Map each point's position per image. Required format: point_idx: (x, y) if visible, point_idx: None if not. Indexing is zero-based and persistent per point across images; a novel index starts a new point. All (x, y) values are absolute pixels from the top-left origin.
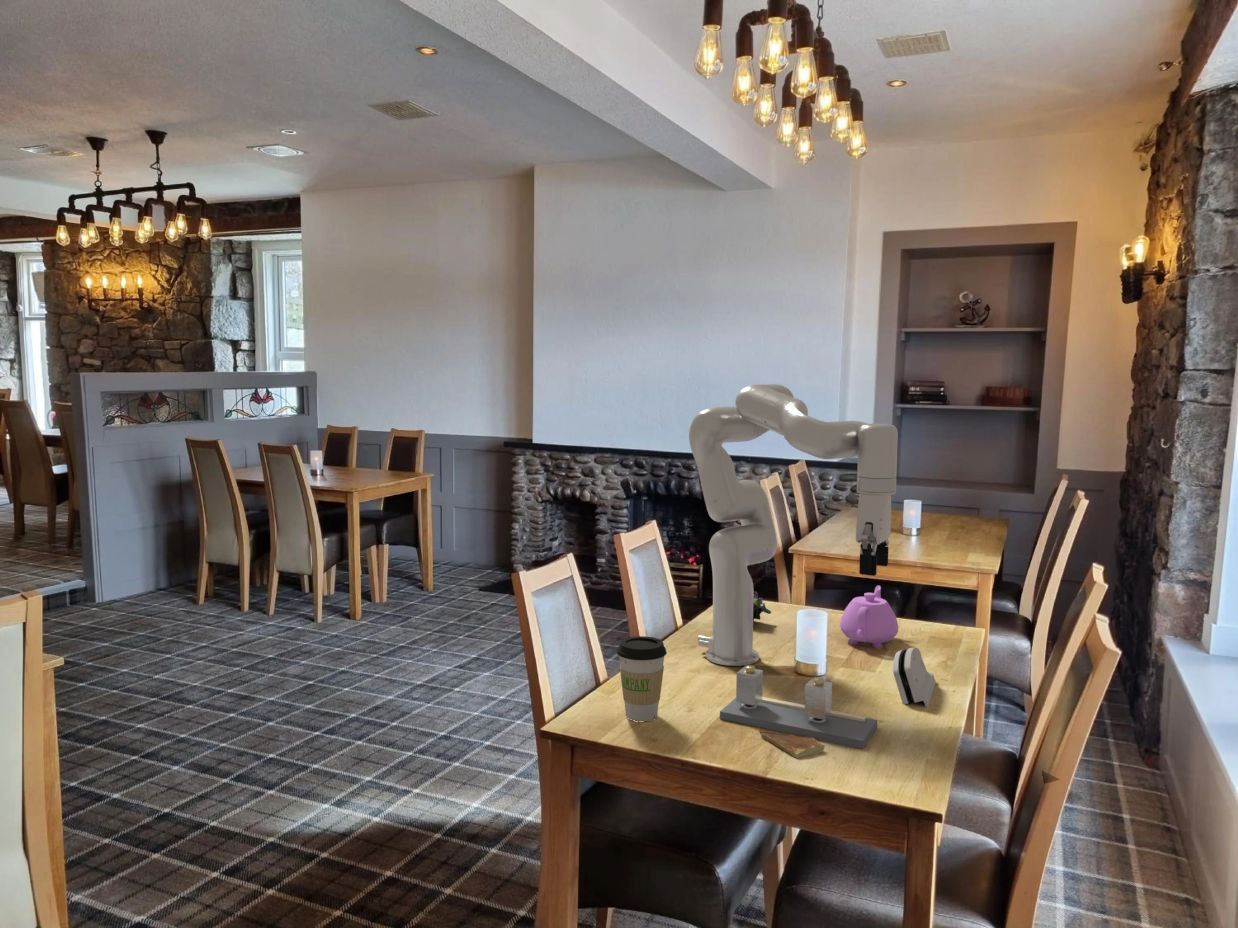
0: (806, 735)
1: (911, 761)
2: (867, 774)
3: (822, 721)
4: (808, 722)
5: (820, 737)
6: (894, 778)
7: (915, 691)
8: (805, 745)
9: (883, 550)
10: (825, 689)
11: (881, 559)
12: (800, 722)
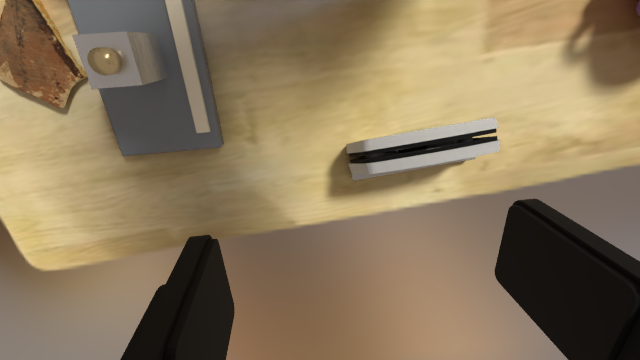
0: None
1: (143, 216)
2: (53, 185)
3: None
4: None
5: None
6: (74, 215)
7: (354, 170)
8: (29, 81)
9: (579, 343)
10: (92, 88)
11: (526, 276)
12: (106, 32)
